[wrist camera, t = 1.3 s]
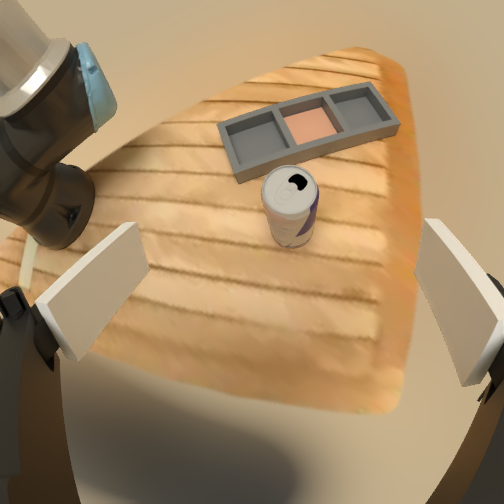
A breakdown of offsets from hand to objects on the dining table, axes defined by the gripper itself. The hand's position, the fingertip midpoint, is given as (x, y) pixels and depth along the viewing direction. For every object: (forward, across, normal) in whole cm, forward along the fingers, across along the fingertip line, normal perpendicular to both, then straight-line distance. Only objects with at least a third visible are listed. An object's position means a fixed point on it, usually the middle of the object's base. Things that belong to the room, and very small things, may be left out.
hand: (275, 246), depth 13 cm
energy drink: (+23, -1, -10) cm, 25 cm away
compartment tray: (+33, +2, +2) cm, 33 cm away
